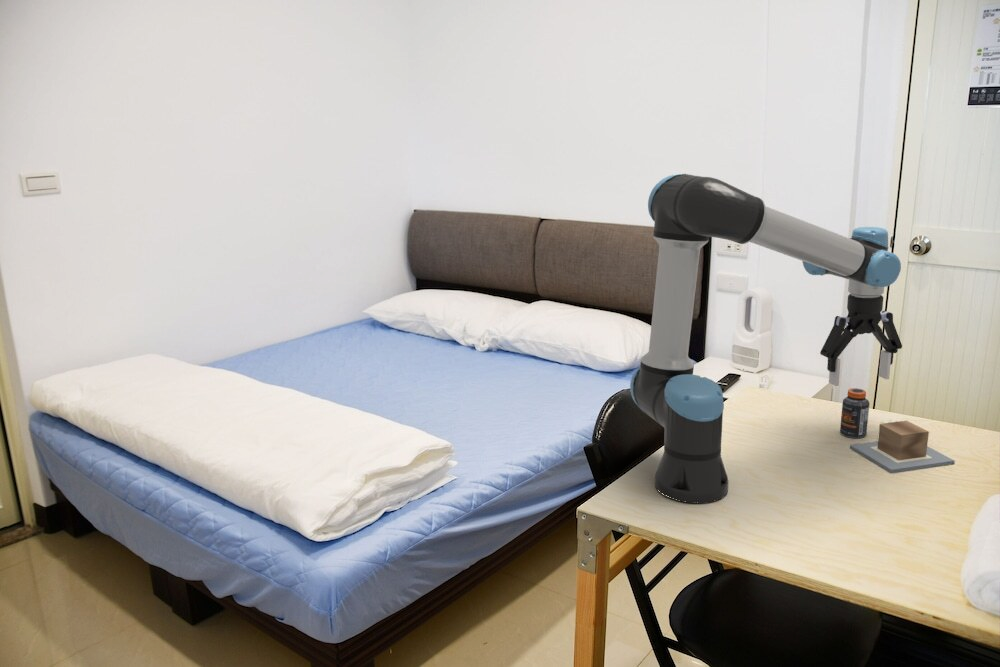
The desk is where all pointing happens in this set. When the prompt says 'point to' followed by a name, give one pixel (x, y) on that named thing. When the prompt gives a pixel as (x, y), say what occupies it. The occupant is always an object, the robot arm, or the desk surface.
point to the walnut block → (903, 440)
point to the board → (895, 465)
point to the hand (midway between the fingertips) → (858, 380)
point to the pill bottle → (855, 414)
